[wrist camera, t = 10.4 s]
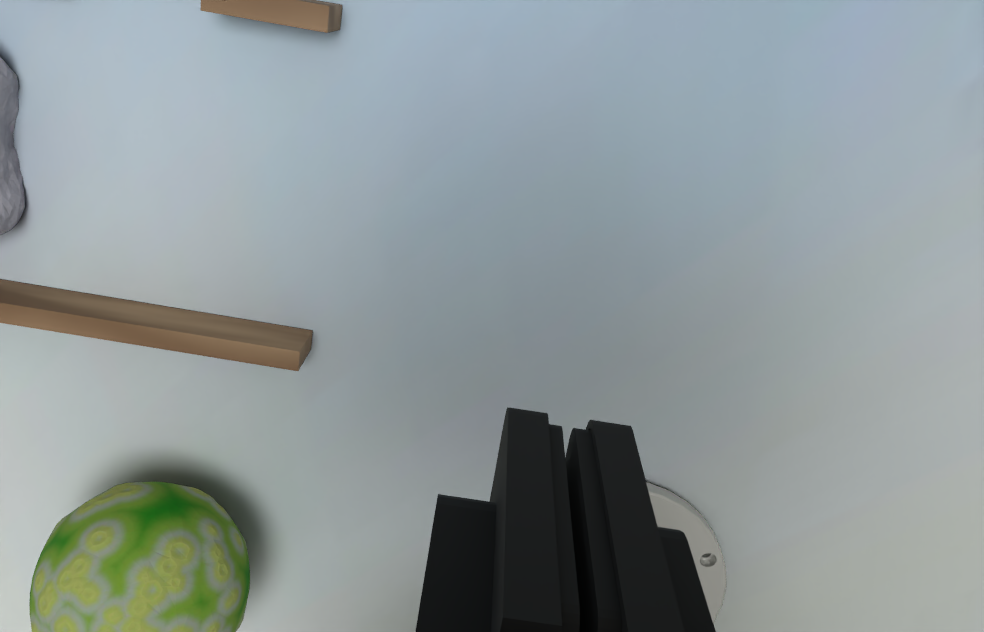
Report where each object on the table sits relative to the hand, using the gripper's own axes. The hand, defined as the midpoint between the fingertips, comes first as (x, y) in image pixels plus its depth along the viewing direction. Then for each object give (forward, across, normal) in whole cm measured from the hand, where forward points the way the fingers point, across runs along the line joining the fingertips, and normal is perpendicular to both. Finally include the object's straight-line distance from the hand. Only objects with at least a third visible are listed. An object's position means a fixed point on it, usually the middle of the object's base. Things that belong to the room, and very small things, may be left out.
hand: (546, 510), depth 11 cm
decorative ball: (+27, +15, +23) cm, 38 cm away
